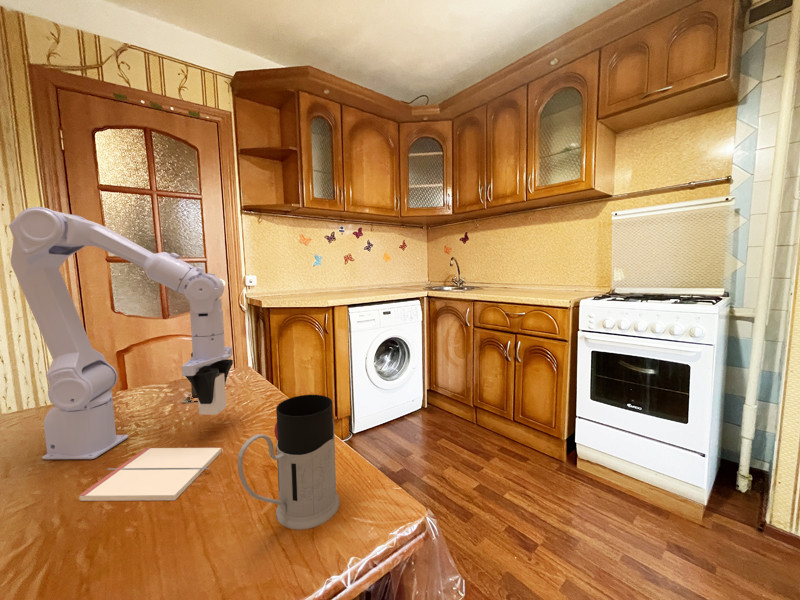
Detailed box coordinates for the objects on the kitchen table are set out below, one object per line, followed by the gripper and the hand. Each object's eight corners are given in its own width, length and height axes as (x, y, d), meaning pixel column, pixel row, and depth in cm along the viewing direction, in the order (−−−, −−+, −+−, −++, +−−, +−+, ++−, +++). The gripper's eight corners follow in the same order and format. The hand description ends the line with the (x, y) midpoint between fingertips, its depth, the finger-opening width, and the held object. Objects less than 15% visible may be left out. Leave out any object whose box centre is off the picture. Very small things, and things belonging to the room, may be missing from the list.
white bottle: (199, 414, 68) (196, 372, 67) (209, 407, 71) (206, 367, 70) (216, 414, 68) (214, 372, 67) (226, 407, 71) (223, 367, 70)
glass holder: (352, 499, 49) (350, 400, 48) (266, 572, 38) (259, 444, 36) (311, 479, 54) (308, 388, 53) (224, 538, 43) (216, 424, 41)
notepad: (69, 500, 50) (69, 495, 49) (138, 452, 62) (137, 447, 62) (184, 500, 49) (184, 494, 49) (229, 451, 62) (229, 447, 62)
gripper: (207, 341, 61) (211, 414, 62) (244, 327, 75) (247, 386, 76) (168, 342, 61) (173, 414, 62) (212, 327, 75) (216, 386, 76)
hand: (212, 399), depth 69 cm, fingers closed on white bottle, 4 cm apart
